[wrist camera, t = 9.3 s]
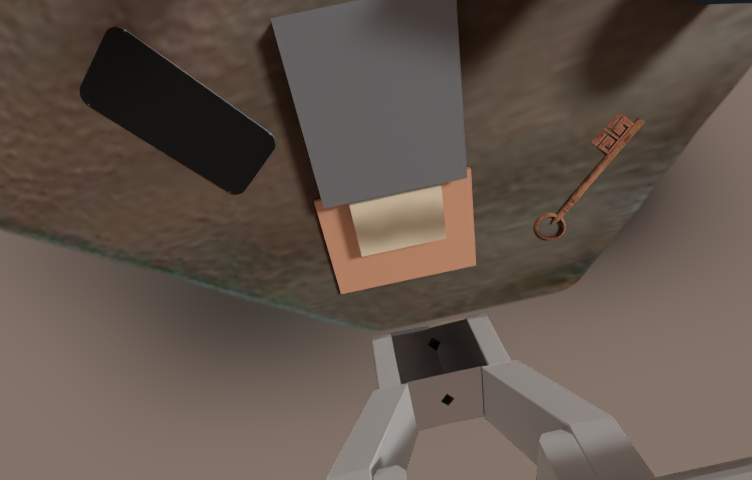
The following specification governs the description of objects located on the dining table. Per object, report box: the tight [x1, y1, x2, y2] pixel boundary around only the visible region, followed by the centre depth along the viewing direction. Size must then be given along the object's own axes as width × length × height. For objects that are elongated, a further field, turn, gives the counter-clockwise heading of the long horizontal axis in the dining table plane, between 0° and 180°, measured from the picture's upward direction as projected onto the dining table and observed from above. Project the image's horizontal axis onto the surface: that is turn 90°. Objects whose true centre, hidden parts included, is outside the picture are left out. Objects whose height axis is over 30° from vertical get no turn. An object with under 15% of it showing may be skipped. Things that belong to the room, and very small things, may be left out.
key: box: [534, 113, 644, 240], centre depth 41 cm, size 6×1×15 cm
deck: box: [271, 0, 467, 209], centre depth 34 cm, size 16×14×2 cm
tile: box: [349, 184, 447, 257], centre depth 40 cm, size 6×9×2 cm, turn 100°
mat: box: [314, 167, 476, 294], centre depth 42 cm, size 12×16×1 cm
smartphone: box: [80, 27, 276, 194], centre depth 34 cm, size 7×1×15 cm
